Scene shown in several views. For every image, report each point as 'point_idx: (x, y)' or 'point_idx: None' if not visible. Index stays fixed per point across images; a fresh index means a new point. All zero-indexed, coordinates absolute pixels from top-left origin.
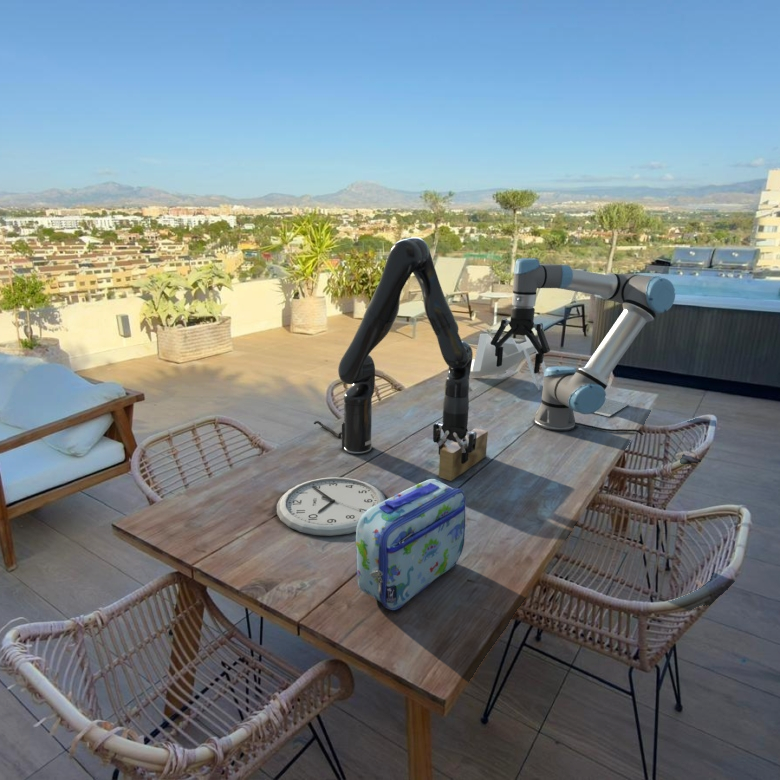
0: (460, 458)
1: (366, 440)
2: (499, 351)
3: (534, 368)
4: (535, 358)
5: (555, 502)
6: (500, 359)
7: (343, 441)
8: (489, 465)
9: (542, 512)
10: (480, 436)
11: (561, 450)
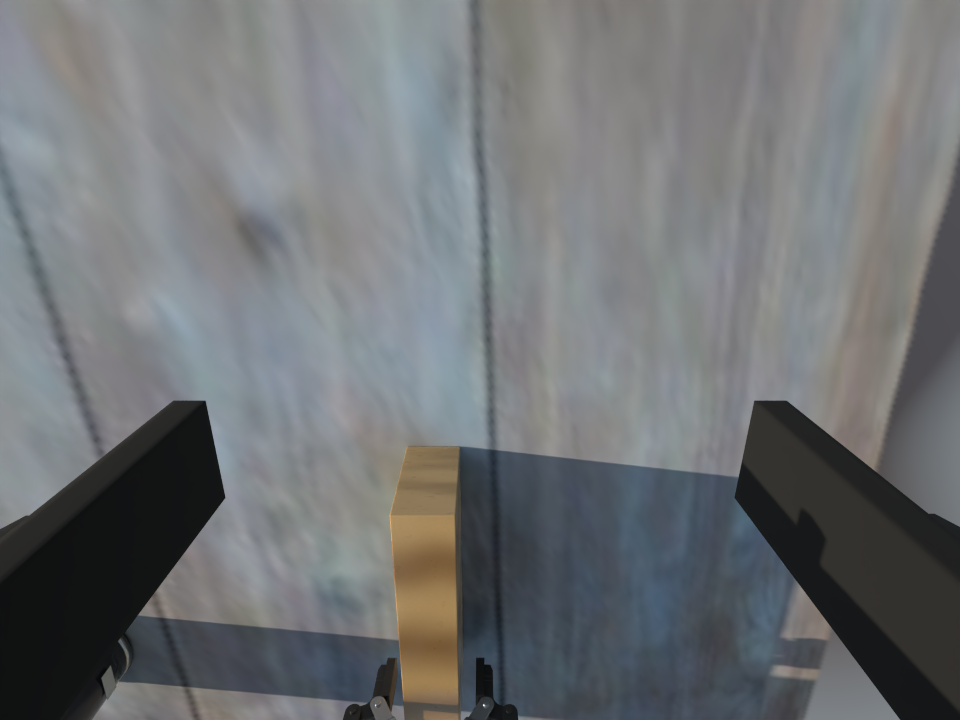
0: (460, 663)
1: (101, 697)
2: (67, 701)
3: (769, 542)
4: (874, 682)
5: (776, 591)
6: (163, 515)
7: None
8: (507, 501)
9: (752, 650)
10: (456, 574)
11: (720, 177)
